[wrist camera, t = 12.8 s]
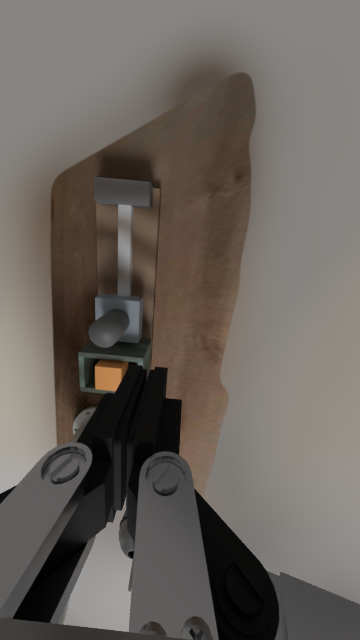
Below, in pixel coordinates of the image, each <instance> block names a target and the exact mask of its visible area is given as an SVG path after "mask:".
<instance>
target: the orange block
mask: <svg viewBox="0 0 360 640" xmlns="http://www.w3.org/2000/svg"><path fill="white" fill-rule="evenodd" d="M127 369H128V361H118V360H108V359H100V361H99V362H98V363H97V364H96V365H95V389H98V390H108V391H116V390H117V388H118V386H119V384H120V382H121V380H122V379H123V377H124V375H125V373H126V371H127Z"/></svg>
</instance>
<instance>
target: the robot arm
mask: <svg viewBox="0 0 360 640" xmlns="http://www.w3.org/2000/svg"><path fill="white" fill-rule="evenodd" d="M167 371H168V368H163V367H155V370H150V372H149V375H148V378H147V369H143V366H142V365H131V364H130V365H129V367H128V369H127V371H126V373H125V375H124V377H123V379H122V380H121V382H120V384H119V386H118V388H117V390H116V392H115V393H105V395H104V396H103V398H102V400H101V401H100V403H99V405H98V406H91V407H88V408H86V409H84V410H83V411H81V412H80V413H79V414H78V416H77V417H76V419H75V421H74V423H73V433H74V436H73V437H72V439H71V440H70V442H69V443H65V444H62V445H60V446H57V447H55V448H54V449H52V450H51V451H49V452H48V453H47V454H45V455H44V456H43V457H42V458H41V459H40V461H39V462H38V463H37V464H36V465H35V466H34V467H33V468H32V469H31V470H30V472H29V473H28V474H27V475H26V476H25V477H24V478H23V480H22V481H21V482H20V483H19V484H18V485H16V486H14V487H13V488H11V489H9V490H7V491H5V492H3V493H1V494H0V640H360V604H358V603H355V602H353V601H350V600H348V599H345V598H343V597H341V596H338V595H336V594H333V593H331V592H329V591H326V590H324V589H321V588H319V587H316V586H314V585H311V584H309V583H307V582H304V581H302V580H300V579H297V578H294V577H292V576H290V575H287V574H285V573H283V572H281V573H280V576H278V575H275V574H273V573H271V572H268V571H266V570H265V568H264V567H263V565H262V564H261V563H260V561H259V560H258V559H257V558H256V557H255V556H254V555H253V553H252V552H251V551H250V550H249V549H248V548H247V547H246V546H245V544H244V543H243V542H242V541H241V540H240V539H239V538H238V537H237V536H236V534H235V533H234V532H233V531H232V530H231V529H230V528H229V527H228V526H227V524H226V523H225V522H224V521H223V520H222V519H221V518H220V517H219V516H218V514H217V513H216V512H215V511H214V510H213V509H212V508H211V507H210V505H209V504H208V503H207V502H206V501H205V500H204V499H203V498H202V496H201V495H200V494H199V493H198V492H197V491H196V490H195V489H194V485H193V478H192V473H191V470H190V467H189V465H188V463H187V462H186V460H185V459H184V458H182V457H181V456H180V455H179V445H180V425H181V406H182V400H179V399H168V398H166V385H167ZM125 497H127V498H126V511H127V530H128V532H129V534H130V536H131V537H132V539H133V541H134V543H135V549H134V564H133V579H132V594H131V609H130V622H129V632H122V631H114V630H106V629H105V630H104V629H97V628H88V627H79V626H70V625H64V621H65V617H66V613H67V609H68V604H69V600H70V596H71V593H72V591H73V588H74V586H75V584H76V582H77V580H78V577H79V575H80V573H81V571H82V568H83V566H84V564H85V562H86V559H87V557H88V555H89V553H90V551H91V548H92V546H93V543H94V540H95V536H96V534H97V533H99V532H100V531H101V530H102V529H104V528H105V527H106V524H107V522H113V520H114V517H115V513H116V510H120V511H121V510H122V508H123V505H124V501H125Z"/></svg>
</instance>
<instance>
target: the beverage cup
mask: <svg viewBox="0 0 360 640" xmlns="http://www.w3.org/2000/svg"><path fill="white" fill-rule="evenodd" d="M119 541H120V546H121V549H122V550H123V552H124V554H125V555H126V556H127V557H129V558H131V559H133V562H132V568H131V575H130V581H129V588H128V591H131V589H132V579H133V564H134V549H135V543H134V541H133V539H132V537H131V536H130V534H129V532H128V530H127V511H125V514H124V516H123V519H122V520H121V523H120V530H119Z"/></svg>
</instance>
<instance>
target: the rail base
mask: <svg viewBox="0 0 360 640" xmlns="http://www.w3.org/2000/svg"><path fill="white" fill-rule="evenodd" d="M94 192H95V201H96V225H97V278H98V296H99V295H101V294H107V295H108V294H117V296H128V297H131V296H139V298H143V319H142V337H141V339H140V341H139V342H138V343H131V342H121V341H117V342H116V343H115V344H114V345H113V346H111V347H107V348H103V347H99V346H97V345H95V344H94V343H93V342H92V341H90V342H89V343H88V344H86V345H85V346H84V347H83V348H82V349H81V350H80V351H79V352H78V359H79V380H80V391H82V392H92V393H102V394H105V393H115V392H116V391H108V390H98V389H95V365H96V364H97V363H98V362H99V361H100V359H108V360H118V361H128V367H129V365H130V364H131V365H142V366H143V369H147V378H148V375H149V372H150V369H151V358H152V341H153V323H154V306H155V288H156V271H157V254H158V236H159V219H160V201H161V190H160V189H158V188H153V186H152V184H151V182H146V181H136V180H125V179H114V178H103V177H94Z"/></svg>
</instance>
